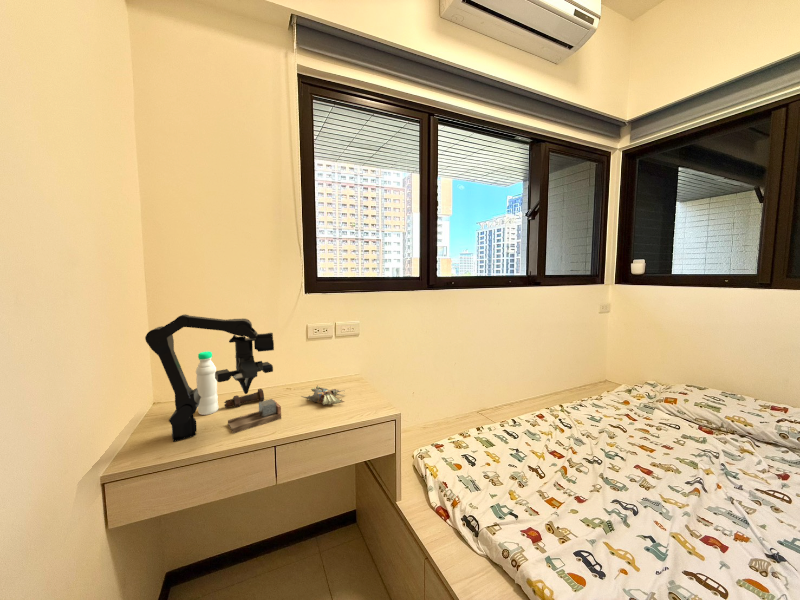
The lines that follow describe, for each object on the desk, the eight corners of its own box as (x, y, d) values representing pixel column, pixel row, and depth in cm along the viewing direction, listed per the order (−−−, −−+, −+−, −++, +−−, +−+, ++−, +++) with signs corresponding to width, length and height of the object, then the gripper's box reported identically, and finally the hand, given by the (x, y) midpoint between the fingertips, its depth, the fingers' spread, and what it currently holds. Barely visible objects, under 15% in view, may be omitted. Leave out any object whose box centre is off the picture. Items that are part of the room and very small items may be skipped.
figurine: (334, 380, 148) (356, 390, 136) (334, 392, 148) (356, 403, 137) (296, 389, 133) (317, 400, 122) (296, 403, 133) (317, 415, 122)
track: (233, 433, 109) (232, 420, 108) (228, 425, 115) (227, 412, 114) (281, 418, 120) (280, 406, 119) (274, 411, 126) (273, 399, 125)
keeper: (263, 419, 117) (262, 406, 116) (259, 414, 120) (258, 402, 120) (276, 415, 120) (276, 402, 120) (272, 410, 124) (271, 398, 123)
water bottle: (209, 416, 122) (205, 355, 120) (194, 414, 123) (190, 354, 121) (222, 408, 129) (219, 350, 127) (208, 407, 130) (204, 349, 128)
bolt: (225, 412, 130) (263, 402, 138) (226, 410, 126) (264, 400, 135) (223, 398, 131) (260, 389, 140) (223, 396, 128) (262, 387, 136)
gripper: (220, 362, 101) (222, 407, 102) (277, 352, 113) (278, 393, 114) (213, 355, 109) (215, 397, 111) (267, 347, 122) (268, 385, 123)
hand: (245, 393), depth 114 cm, fingers closed
